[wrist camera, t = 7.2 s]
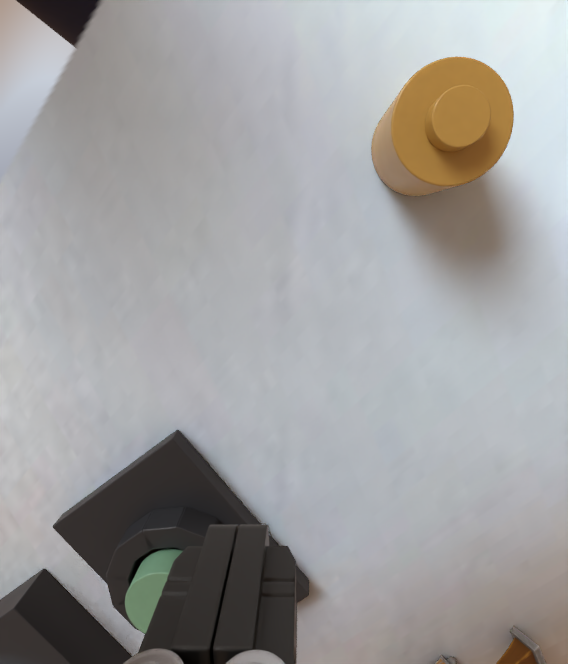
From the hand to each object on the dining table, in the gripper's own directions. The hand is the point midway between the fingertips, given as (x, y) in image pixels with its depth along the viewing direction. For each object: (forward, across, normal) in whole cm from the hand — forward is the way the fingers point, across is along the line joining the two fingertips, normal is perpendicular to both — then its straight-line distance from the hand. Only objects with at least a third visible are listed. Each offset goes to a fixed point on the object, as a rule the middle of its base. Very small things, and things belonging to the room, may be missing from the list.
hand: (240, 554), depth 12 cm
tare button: (+10, +5, +10) cm, 15 cm away
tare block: (+13, +5, +10) cm, 17 cm away
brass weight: (+13, -7, -12) cm, 19 cm away
